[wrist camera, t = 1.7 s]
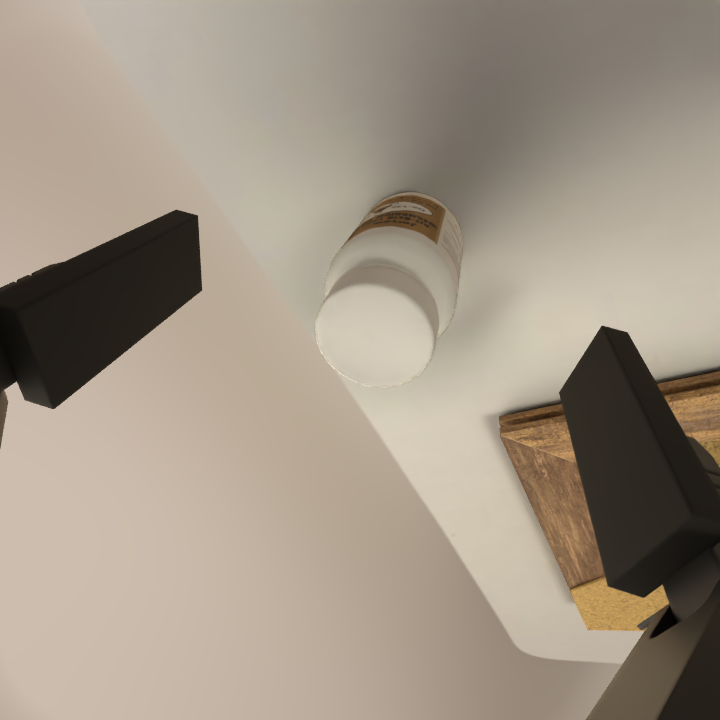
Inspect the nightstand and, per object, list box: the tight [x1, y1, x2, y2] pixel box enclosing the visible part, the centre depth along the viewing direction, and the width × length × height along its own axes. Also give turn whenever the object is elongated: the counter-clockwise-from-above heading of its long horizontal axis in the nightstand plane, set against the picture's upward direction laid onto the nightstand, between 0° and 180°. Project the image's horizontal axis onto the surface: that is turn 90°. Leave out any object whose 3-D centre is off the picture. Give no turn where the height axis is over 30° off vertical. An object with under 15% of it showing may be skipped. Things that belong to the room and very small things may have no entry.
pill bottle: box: [315, 192, 463, 388], centre depth 15 cm, size 4×4×8 cm
